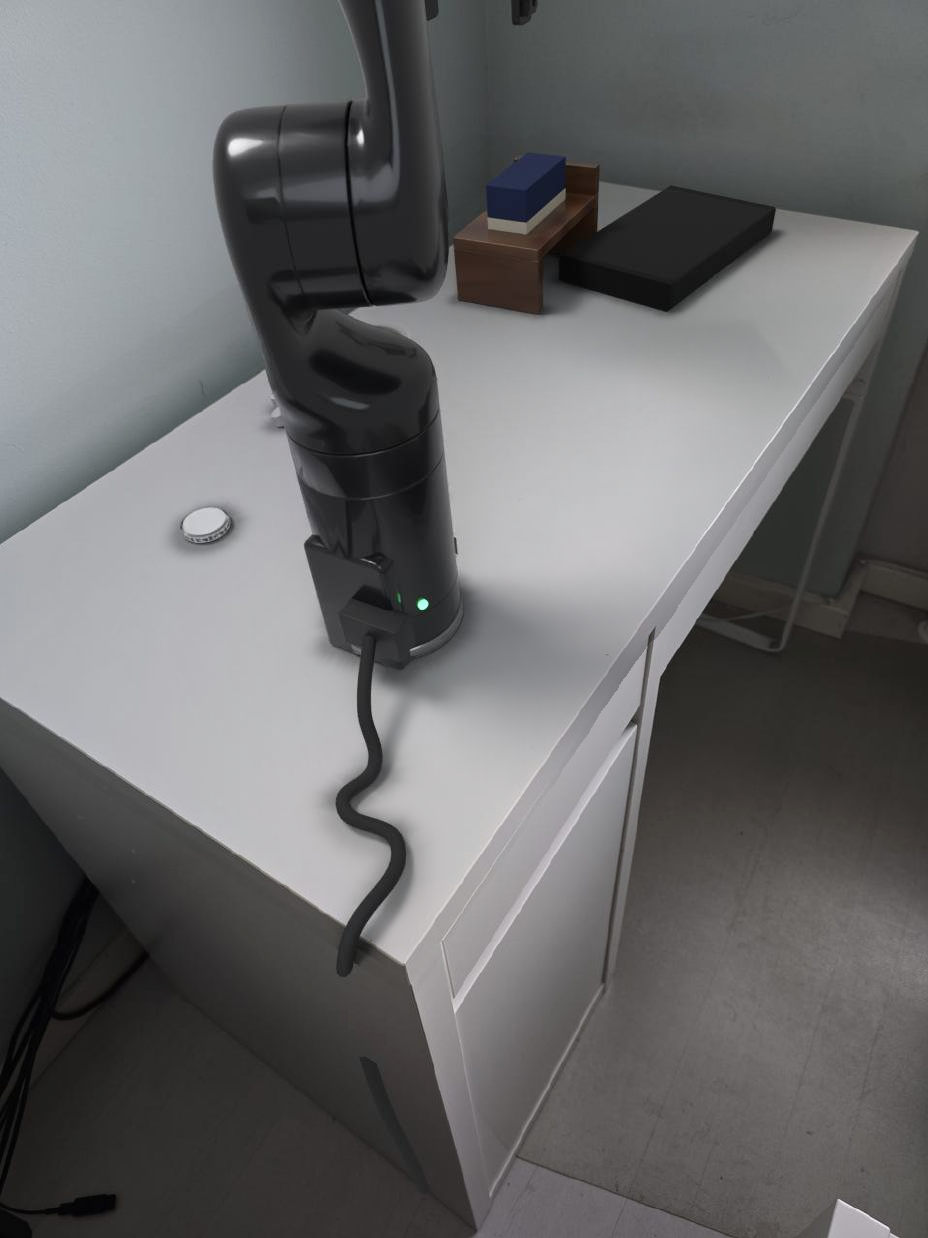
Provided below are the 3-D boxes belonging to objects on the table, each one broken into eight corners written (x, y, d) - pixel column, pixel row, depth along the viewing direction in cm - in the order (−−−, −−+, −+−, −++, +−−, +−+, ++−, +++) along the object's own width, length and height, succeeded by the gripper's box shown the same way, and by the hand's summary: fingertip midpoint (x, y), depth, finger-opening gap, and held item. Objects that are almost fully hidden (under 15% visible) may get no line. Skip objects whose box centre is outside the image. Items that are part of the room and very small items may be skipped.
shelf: (538, 314, 94) (537, 219, 87) (457, 300, 98) (450, 207, 90) (596, 253, 103) (599, 163, 96) (520, 242, 107) (518, 154, 100)
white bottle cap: (234, 510, 74) (232, 504, 73) (225, 541, 71) (223, 535, 70) (188, 512, 74) (186, 506, 73) (177, 543, 71) (174, 538, 71)
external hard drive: (558, 280, 99) (559, 254, 97) (667, 209, 110) (669, 184, 108) (668, 312, 92) (670, 284, 90) (771, 232, 103) (776, 206, 101)
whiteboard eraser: (526, 234, 92) (525, 189, 88) (487, 229, 93) (485, 184, 90) (565, 199, 97) (566, 155, 94) (528, 194, 99) (527, 151, 96)
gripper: (340, -253, 59) (375, 29, 71) (530, -272, 54) (534, 37, 65) (398, -260, 64) (422, 6, 75) (579, -278, 58) (575, 12, 70)
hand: (474, 20), depth 70 cm, fingers open, 8 cm apart
